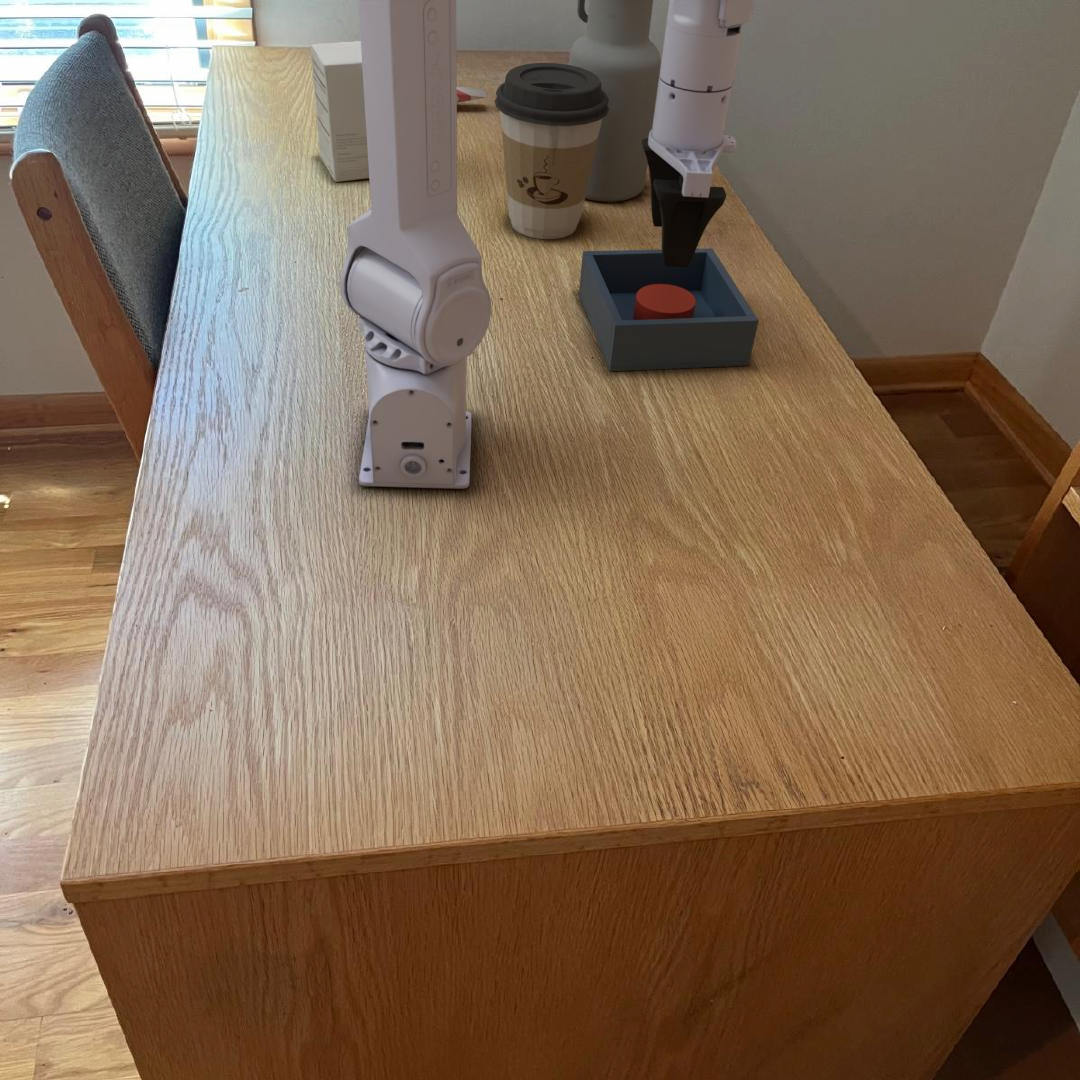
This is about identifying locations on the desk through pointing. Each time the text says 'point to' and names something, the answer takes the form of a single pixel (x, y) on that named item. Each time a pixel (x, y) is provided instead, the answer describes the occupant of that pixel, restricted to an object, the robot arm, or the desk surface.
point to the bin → (665, 343)
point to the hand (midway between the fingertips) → (669, 244)
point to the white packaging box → (340, 109)
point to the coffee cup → (549, 144)
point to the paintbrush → (469, 94)
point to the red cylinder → (663, 303)
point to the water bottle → (620, 92)
